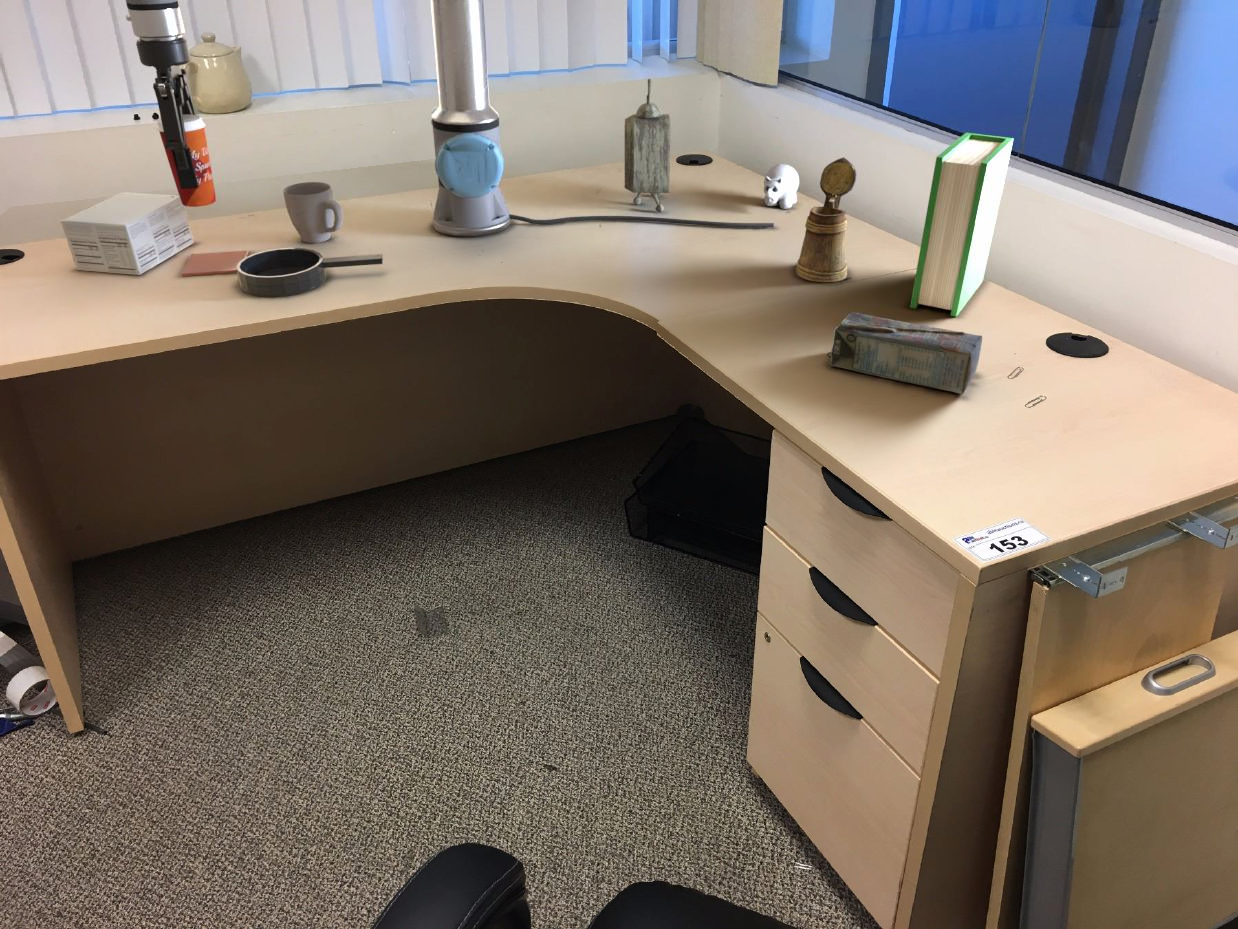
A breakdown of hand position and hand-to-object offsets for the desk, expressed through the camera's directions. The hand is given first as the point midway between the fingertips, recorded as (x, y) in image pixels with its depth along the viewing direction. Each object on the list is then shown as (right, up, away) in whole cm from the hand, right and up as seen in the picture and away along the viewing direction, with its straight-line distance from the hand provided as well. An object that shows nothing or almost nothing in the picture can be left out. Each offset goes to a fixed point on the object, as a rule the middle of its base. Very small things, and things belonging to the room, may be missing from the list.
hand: (194, 180), depth 162 cm
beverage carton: (+113, -36, -28) cm, 122 cm away
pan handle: (+27, -14, +2) cm, 30 cm away
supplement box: (-16, -11, +12) cm, 22 cm away
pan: (+15, -17, +1) cm, 23 cm away
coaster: (0, -13, +8) cm, 15 cm away
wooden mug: (+110, -14, +5) cm, 111 cm away
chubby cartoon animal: (+106, +4, +35) cm, 112 cm away
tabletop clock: (+79, +6, +37) cm, 88 cm away
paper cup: (0, -3, +2) cm, 4 cm away
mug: (+16, -6, +19) cm, 26 cm away
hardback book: (+128, -21, -4) cm, 130 cm away
